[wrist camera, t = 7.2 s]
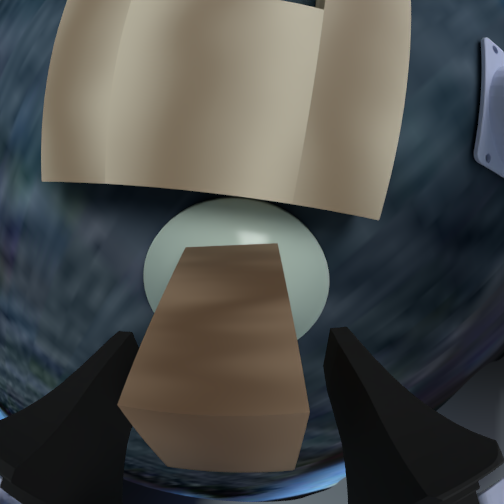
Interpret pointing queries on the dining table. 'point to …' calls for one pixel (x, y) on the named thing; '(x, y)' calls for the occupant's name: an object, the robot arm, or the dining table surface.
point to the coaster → (242, 233)
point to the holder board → (230, 98)
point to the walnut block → (221, 366)
